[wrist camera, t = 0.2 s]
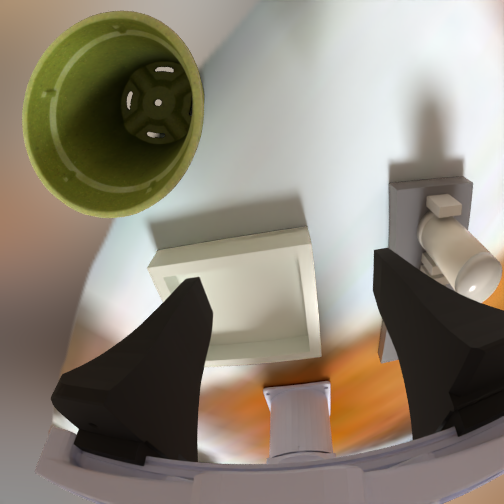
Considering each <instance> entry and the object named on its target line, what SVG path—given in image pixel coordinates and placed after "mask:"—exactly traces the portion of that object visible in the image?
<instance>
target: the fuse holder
mask: <svg viewBox="0 0 504 504" xmlns="http://www.w3.org/2000/svg"><path fill="white" fill-rule="evenodd" d="M472 189H473V182H471V181H469V180H468V179H466V178H465V177H463V176H462V177H449V178H437V179H426V180H415V181H405V182H396V183H389V249H391V250H392V251H394V252H395V253H396V254H398V255H399V256H401V257H402V258H403V259H405V260H406V261H408V262H409V263H410V264H412V265H413V266H415V267H416V268H417V269H419V270H420V271H422V272H423V273H425V274H426V275H428V276H429V277H431V278H433V279H434V280H436V281H437V282H439V283H441V284H442V285H446V286H447V287H448V288H450V289H451V290H453V291H455V290H454V289H453V287H452V286H451V284H450V283H449V282H448V280H447V279H446V277H445V276H444V274H443V273H442V272H441V270H440V269H439V268H438V266H437V265H436V264H435V262H434V261H433V260H432V258H431V257H430V256H429V254H428V253H427V252H426V250H425V249H424V248H423V247H422V246H421V244H420V243H419V241H418V239H417V227H418V224H419V222H420V220H421V219H422V217H423V216H424V215H425V214H426V213H427V212H429V211H432V212H433V213H434V214H435V215H436V216H437V217H438V218H443V217H451V216H453V217H454V218H455V219H456V220H457V221H458V222H459V223H461V224H462V225H463V226H464V227H465V228H466V229H467V230H468V225H469V218H470V210H471V201H472ZM378 355H379V358H380V362H381V363H385V362H390V361H394V360H399V359H398V356H397V353H396V350H395V348H394V345H393V343H392V340H391V338H390V336H389V333H388V331H387V328H386V326H385V324H384V321H382V329H381V336H380V343H379V349H378Z"/></svg>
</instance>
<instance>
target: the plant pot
mask: <svg viewBox="0 0 504 504" xmlns="http://www.w3.org/2000/svg"><path fill="white" fill-rule="evenodd" d="M157 67H170V68H172V69H174V72H166V71H157V72H156V71H155V69H156V68H157ZM130 91H132V92H133V95H132V99H131V103H130V104H131V106H130V110H129V109H128V108H127V96H128V94H129V92H130ZM191 98H192V99H193V105H192V116H190V115H189V111H190V108H191V103H192V101H191ZM157 99H160V100H161V101H162V104H161V105H160V106H156V105H155V101H156V100H157ZM203 118H204V92H203V88H202V83H201V78H200V75H199V71H198V67H197V65H196V63H195V61H194V58H193V56H192V54H191V52H190V51H189V49H188V47H187V46H186V45H185V43H184V42H183V41H182V40H181V38H180V37H179V36H178V35H177V34H176V33H175V32H174V31H173V30H171V29H170V28H169V27H168V26H167V25H165V24H164V23H162V22H161V21H159V20H157V19H155V18H153V17H151V16H148V15H145V14H142V13H137V12H131V11H112V12H106V13H100V14H97V15H94V16H91V17H88V18H86V19H84V20H82V21H80V22H78V23H76V24H75V25H73V26H72V27H70V28H69V29H67V30H66V31H65V32H63V33H62V34H61V35H60V36H59V37H58V38H57V39H56V40H55V41H54V42H53V43H52V44H51V45H50V46H49V47H48V48H47V50H46V51H45V52H44V54H43V55H42V57H41V58H40V60H39V61H38V63H37V65H36V67H35V69H34V71H33V73H32V75H31V78H30V80H29V83H28V86H27V90H26V93H25V99H24V103H23V111H22V124H23V135H24V142H25V146H26V149H27V153H28V156H29V159H30V162H31V164H32V166H33V168H34V170H35V172H36V174H37V176H38V177H39V179H40V180H41V182H42V183H43V184H44V186H45V187H46V188H47V190H49V191H50V192H51V193H52V194H53V195H54V196H55V197H56V198H57V199H59V200H60V201H61V202H63V203H64V204H66V205H67V206H69V207H70V208H72V209H74V210H75V211H78V212H80V213H83V214H86V215H90V216H96V217H100V218H116V217H125V216H130V215H133V214H137V213H139V212H141V211H143V210H145V209H147V208H149V207H151V206H152V205H154V204H156V203H157V202H159V201H160V200H161V199H163V198H164V197H165V196H166V195H167V194H168V193H169V192H171V191H172V189H173V188H174V187H175V186H176V185H177V184H178V182H179V181H180V180H181V178H182V177H183V176H184V174H185V172H186V171H187V169H188V167H189V165H190V163H191V161H192V159H193V157H194V155H195V152H196V150H197V147H198V144H199V140H200V137H201V132H202V126H203ZM147 132H153V133H160V134H161V133H164V134H165V136H164V137H163V138H158V137H155V138H152V137H149V136H148V135H147Z"/></svg>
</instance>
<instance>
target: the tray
mask: <svg viewBox="0 0 504 504" xmlns="http://www.w3.org/2000/svg"><path fill="white" fill-rule="evenodd" d="M147 269H148V271H149V274H150V276H151V278H152V280H153V282H154V285H155V287H156V289H157V291H158V293H159V295H160V297H161V299H162V301H163V302H164V301H165V300H166V299H167V298H168V297H169V296H170V295H171V293H172V292H173V291H174V290H175V289H176V288H177V287H178V286H179V285H180V284H181V283H182V282H183V281H184V280H185V279H186V278H194V277H200V279H201V282H202V285H203V287H204V290H205V293H206V295H207V298H208V300H209V303H210V305H211V308H212V310H213V326H212V334H211V339H210V344H209V348H208V352H207V357H206V361H205V365H204V367H221V366H238V365H252V364H264V363H274V362H284V361H293V360H301V359H309V358H316V357H322V355H321V339H320V325H319V313H318V301H317V290H316V280H315V270H314V261H313V252H312V244H311V239H310V235H309V231H308V227H307V226H304V227H298V228H291V229H284V230H278V231H272V232H265V233H259V234H253V235H246V236H240V237H234V238H228V239H221V240H215V241H209V242H203V243H197V244H191V245H185V246H180V247H174V248H168V249H162V250H158V251H157V252H156V254H155V256H154V257H153V259H152V261H151V262H150V264H149V266H148V267H147Z"/></svg>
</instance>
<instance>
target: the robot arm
mask: <svg viewBox="0 0 504 504" xmlns="http://www.w3.org/2000/svg"><path fill="white" fill-rule="evenodd" d="M373 292H374V296H375V299H376V303H377V306H378V309H379V312H380V314H381V317H382V319H383V321H384V324H385V326H386V328H387V331H388V333H389V336H390V338H391V340H392V343H393V345H394V348H395V350H396V353H397V356H398V359H399V362H400V366H401V370H402V374H403V378H404V383H405V388H406V393H407V398H408V404H409V410H410V417H411V425H412V435H413V441H409V442H406V443H402V444H399V445H395V446H391V447H387V448H383V449H378V450H374V451H369V452H365V453H359V454H354V455H349V456H343V457H336V454H335V453H333V449H332V438H331V428H330V418H329V416H330V382H329V381H322V382H315V383H307V384H299V385H290V386H280V387H268V388H264V389H263V393H264V396H265V398H266V401H267V404H268V407H269V409H270V412H271V419H270V457H269V458H267V464H215V463H199V462H198V453H197V427H198V407H199V396H200V385H201V379H202V374H203V370H204V365H205V361H206V357H207V352H208V348H209V344H210V339H211V334H212V326H213V310H212V308H211V305H210V303H209V300H208V298H207V295H206V293H205V290H204V287H203V285H202V282H201V279H200V277H194V278H186V279H185V280H184V281H183V282H182V283H181V284H180V285H179V286H178V287H177V288H176V289H175V290H174V291H173V292H172V293H171V295H170V296H169V297H168V298H167V299H166V300H165V301H164V302H163V303H162V304H161V305H160V306H159V307H158V308H157V309H156V310H155V311H154V312H153V313H152V314H151V315H150V316H149V317H148V318H147V319H146V320H145V321H144V322H143V323H142V324H141V325H140V326H139V327H138V328H137V329H135V330H134V331H133V332H132V333H131V334H129V335H128V336H127V337H126V338H124V339H123V340H122V341H120V342H119V343H118V344H116V345H115V346H113V347H112V348H111V349H109V350H108V351H106V352H105V353H103V354H101V355H100V356H98V357H97V358H95V359H93V360H91V361H89V362H88V363H86V364H84V365H82V366H80V367H78V368H75V369H73V370H71V371H69V372H67V373H64V374H62V376H61V378H60V380H59V382H58V384H57V386H56V388H55V390H54V392H53V394H52V396H51V401H52V403H53V405H54V407H55V408H56V409H57V410H58V411H59V412H60V413H61V414H62V415H63V416H64V417H65V418H67V419H68V420H69V421H70V422H71V423H72V424H74V425H75V426H76V427H77V428H78V429H79V431H78V433H77V435H76V434H75V433H73V432H70V431H68V430H65V429H61V428H58V427H55V426H52V428H51V431H50V433H49V435H48V438H47V440H46V443H45V445H44V448H43V450H42V453H41V456H40V459H39V461H38V464H37V466H36V469H35V473H36V474H38V475H39V476H41V477H43V478H45V479H46V480H48V481H50V482H52V483H53V484H55V485H57V486H59V487H61V488H63V489H64V490H66V491H68V492H70V493H72V494H75V495H77V496H79V497H81V498H84V499H86V500H89V501H91V502H94V503H96V504H443V503H446V502H448V501H451V500H453V499H455V498H457V497H459V496H462V495H464V494H466V493H468V492H470V491H472V490H474V489H476V488H478V487H480V486H482V485H484V484H486V483H488V482H490V481H491V480H493V479H495V478H497V477H499V476H500V475H502V474H503V473H504V311H503V310H500V309H497V308H494V307H490V306H488V305H485V304H482V303H479V302H477V301H475V300H472V299H470V298H468V297H465V296H463V295H461V294H459V293H457V292H455V291H453V290H451V289H450V288H448V287H446V286H444V285H442V284H441V283H439V282H437V281H436V280H434V279H433V278H431V277H429V276H428V275H426V274H425V273H423V272H422V271H420V270H419V269H417V268H416V267H415V266H413V265H412V264H410V263H409V262H408V261H406V260H405V259H403V258H402V257H401V256H399V255H398V254H396V253H395V252H394V251H392V250H391V249H389V248H384V249H378V250H374V274H373Z"/></svg>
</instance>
